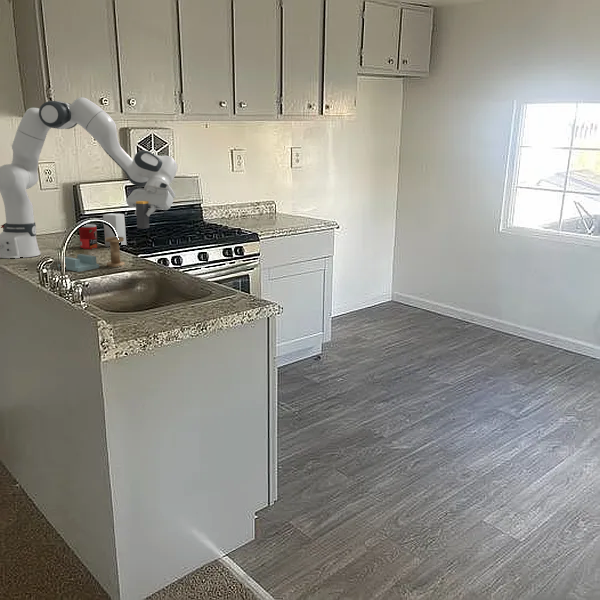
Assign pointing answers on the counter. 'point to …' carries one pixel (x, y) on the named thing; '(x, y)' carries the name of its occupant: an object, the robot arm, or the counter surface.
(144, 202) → the dark grey cylinder
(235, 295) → the counter surface
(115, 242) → the bobbin
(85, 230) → the canned food
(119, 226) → the skincare box
